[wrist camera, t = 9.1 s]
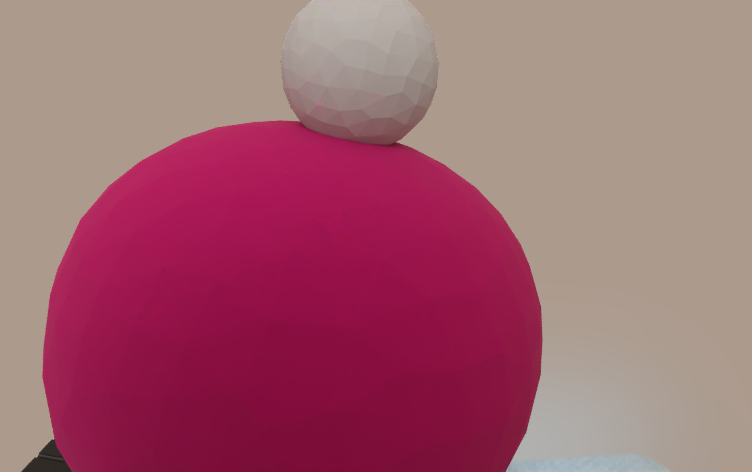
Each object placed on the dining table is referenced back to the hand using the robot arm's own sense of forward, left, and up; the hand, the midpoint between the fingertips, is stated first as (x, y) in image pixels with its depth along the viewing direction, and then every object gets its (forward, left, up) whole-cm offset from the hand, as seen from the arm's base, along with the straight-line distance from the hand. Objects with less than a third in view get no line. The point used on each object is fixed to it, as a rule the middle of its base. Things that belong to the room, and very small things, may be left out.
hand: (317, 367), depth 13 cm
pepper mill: (+1, +6, -11) cm, 12 cm away
